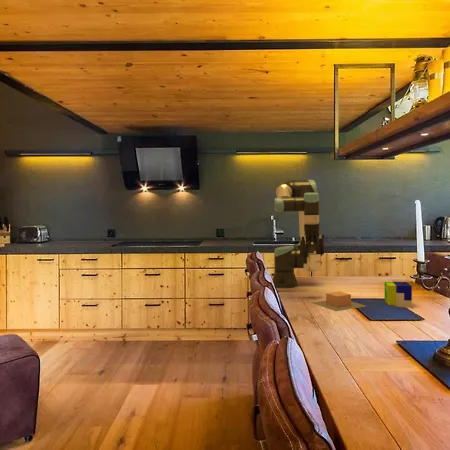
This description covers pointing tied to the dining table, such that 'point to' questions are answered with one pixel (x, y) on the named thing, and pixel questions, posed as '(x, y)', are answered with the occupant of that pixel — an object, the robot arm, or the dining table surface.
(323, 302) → the olive square panel
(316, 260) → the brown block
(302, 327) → the dining table surface
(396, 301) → the puzzle toy
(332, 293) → the base block
